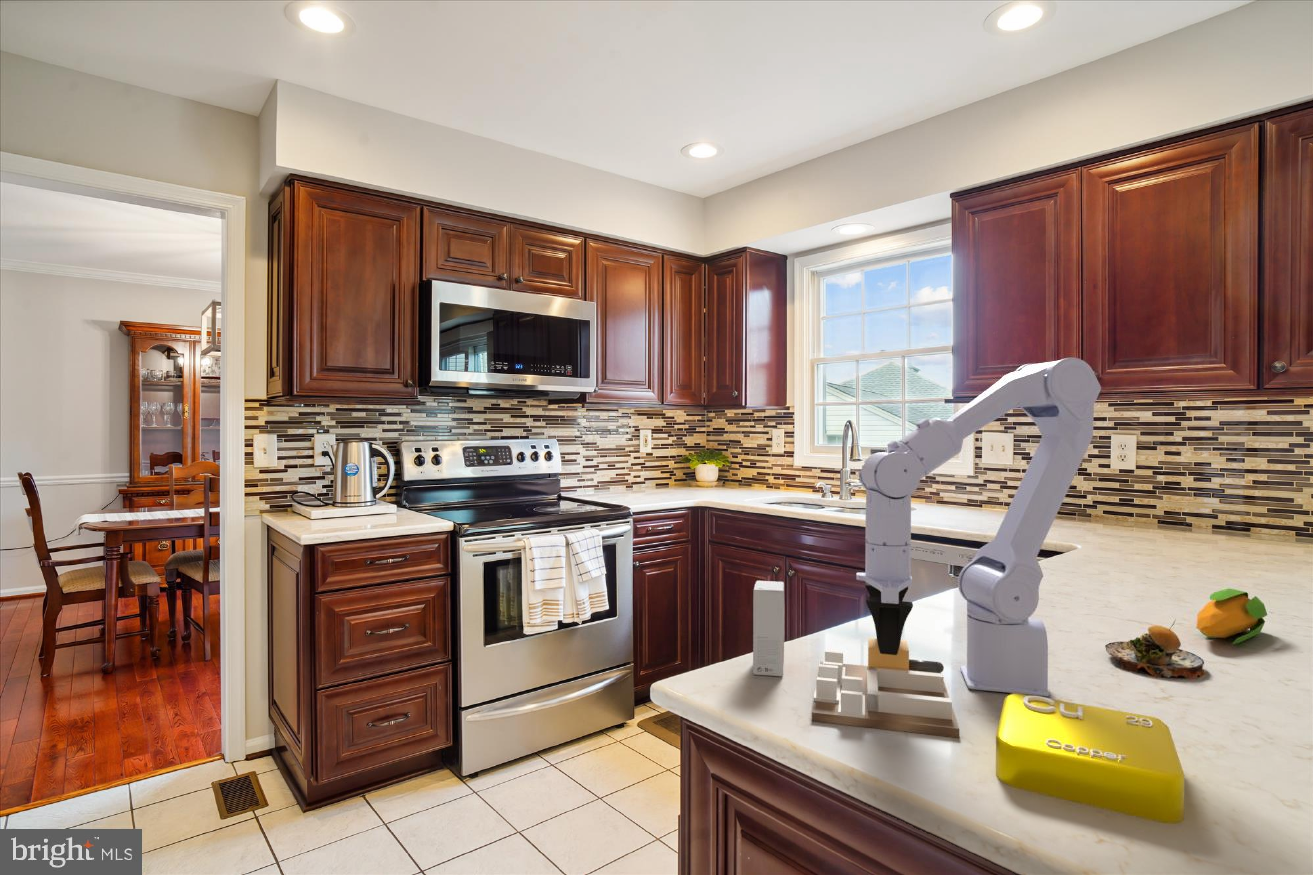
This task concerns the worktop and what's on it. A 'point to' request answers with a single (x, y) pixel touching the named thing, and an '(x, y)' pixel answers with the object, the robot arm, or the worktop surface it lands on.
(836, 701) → the clip
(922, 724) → the board
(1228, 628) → the corn
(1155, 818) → the element tile
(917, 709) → the frame
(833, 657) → the clip
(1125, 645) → the burger
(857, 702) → the clip
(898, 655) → the block
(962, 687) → the worktop surface
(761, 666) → the skincare box
